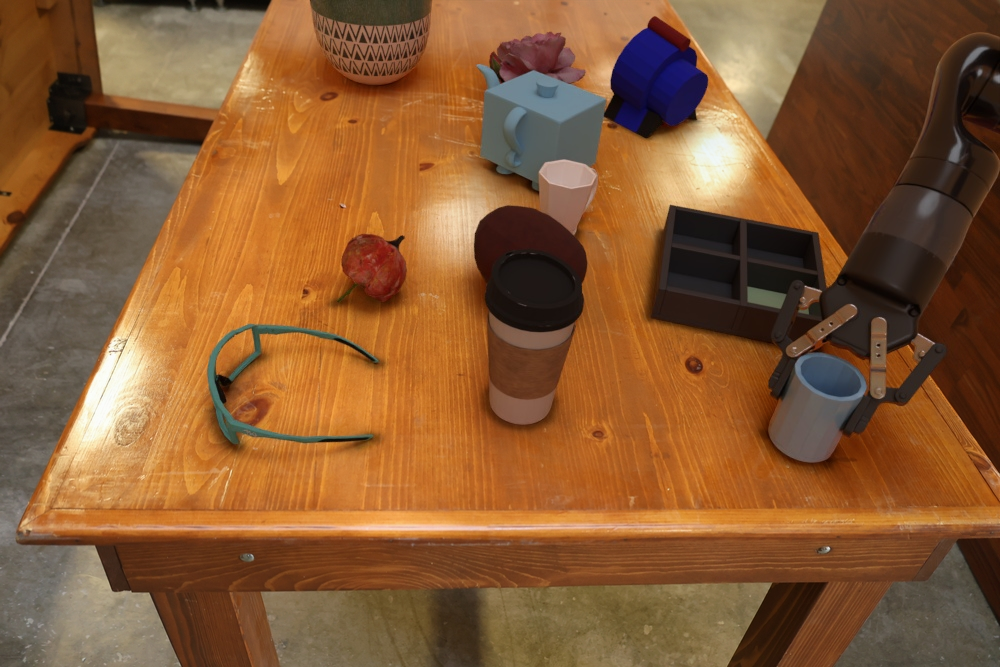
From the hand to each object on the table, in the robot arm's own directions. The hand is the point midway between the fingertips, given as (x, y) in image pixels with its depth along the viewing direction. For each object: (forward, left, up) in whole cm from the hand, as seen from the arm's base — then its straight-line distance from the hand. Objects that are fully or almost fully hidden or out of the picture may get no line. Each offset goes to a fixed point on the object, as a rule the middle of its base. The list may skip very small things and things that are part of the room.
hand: (809, 415), depth 68 cm
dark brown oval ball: (+28, -15, -5) cm, 32 cm away
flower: (+38, -69, -5) cm, 79 cm away
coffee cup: (+25, +1, -5) cm, 26 cm away
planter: (+64, -64, -5) cm, 91 cm away
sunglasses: (+45, +7, -5) cm, 46 cm away
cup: (+26, -31, -5) cm, 41 cm away
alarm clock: (+18, -67, -5) cm, 69 cm away
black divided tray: (+5, -25, -5) cm, 26 cm away
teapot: (+35, -45, -5) cm, 57 cm away
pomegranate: (+44, -10, -5) cm, 46 cm away
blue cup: (-1, -2, -4) cm, 5 cm away
